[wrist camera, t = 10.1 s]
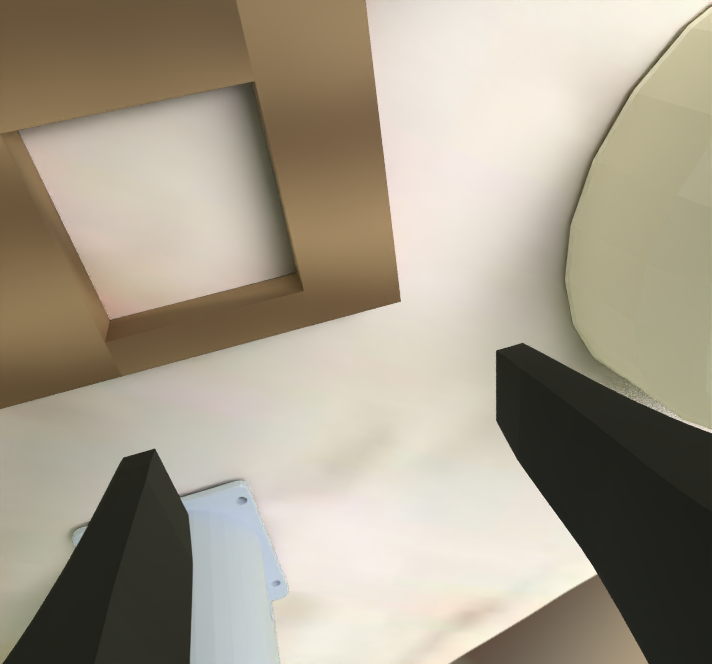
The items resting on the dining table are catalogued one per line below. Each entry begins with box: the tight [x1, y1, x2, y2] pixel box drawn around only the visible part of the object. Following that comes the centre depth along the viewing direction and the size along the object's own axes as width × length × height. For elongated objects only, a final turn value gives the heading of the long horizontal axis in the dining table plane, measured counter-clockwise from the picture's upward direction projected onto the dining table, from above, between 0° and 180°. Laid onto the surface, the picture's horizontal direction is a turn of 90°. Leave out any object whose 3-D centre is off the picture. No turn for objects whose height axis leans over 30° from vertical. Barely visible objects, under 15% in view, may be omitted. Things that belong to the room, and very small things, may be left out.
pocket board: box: [0, 0, 401, 409], centre depth 17 cm, size 12×16×2 cm
